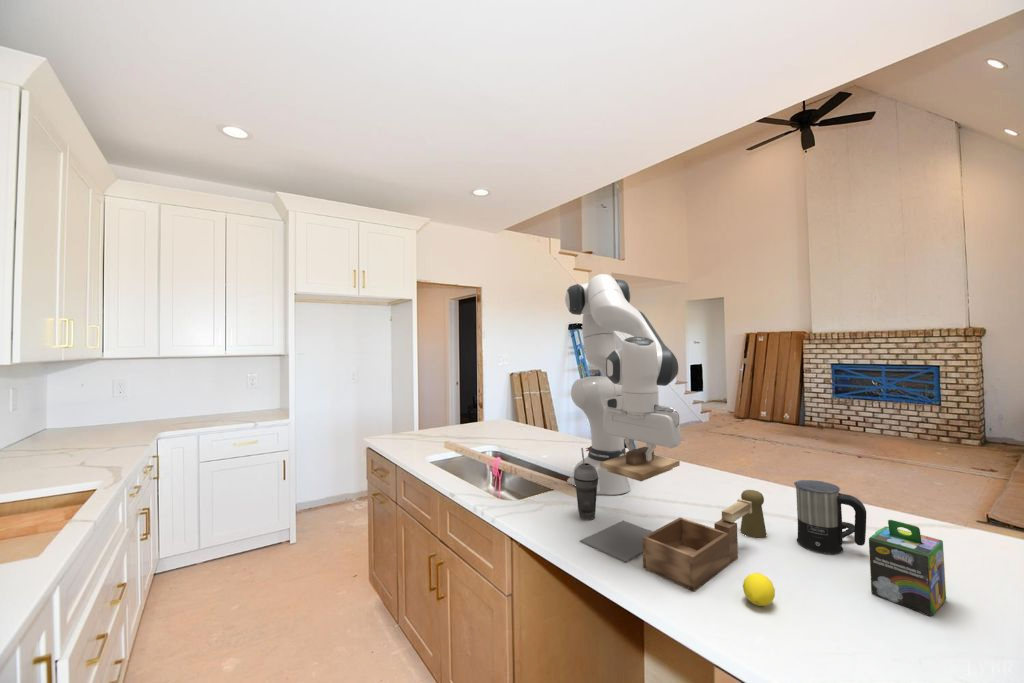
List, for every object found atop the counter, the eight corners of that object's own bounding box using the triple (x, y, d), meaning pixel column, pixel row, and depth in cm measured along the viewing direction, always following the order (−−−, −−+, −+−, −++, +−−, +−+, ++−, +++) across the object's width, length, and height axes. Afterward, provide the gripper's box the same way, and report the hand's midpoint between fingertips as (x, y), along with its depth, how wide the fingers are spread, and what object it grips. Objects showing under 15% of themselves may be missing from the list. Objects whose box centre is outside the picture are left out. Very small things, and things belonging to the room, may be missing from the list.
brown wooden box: (643, 568, 97) (642, 531, 97) (689, 540, 109) (688, 508, 109) (694, 591, 87) (693, 551, 87) (737, 558, 100) (737, 523, 100)
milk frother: (801, 551, 102) (799, 489, 102) (785, 524, 117) (784, 470, 117) (875, 561, 97) (873, 495, 97) (849, 531, 112) (847, 474, 112)
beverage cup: (589, 524, 120) (587, 453, 120) (569, 517, 126) (567, 448, 126) (604, 517, 125) (603, 448, 125) (585, 510, 130) (583, 444, 130)
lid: (600, 471, 106) (600, 451, 106) (638, 458, 116) (638, 440, 116) (642, 484, 97) (642, 462, 97) (679, 469, 107) (679, 449, 107)
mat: (580, 541, 110) (580, 540, 110) (623, 521, 121) (623, 520, 121) (625, 562, 99) (625, 561, 99) (668, 538, 111) (668, 537, 110)
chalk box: (947, 600, 82) (945, 523, 82) (932, 618, 77) (930, 536, 77) (885, 578, 90) (884, 508, 90) (868, 593, 85) (867, 519, 85)
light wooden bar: (720, 520, 101) (720, 509, 101) (739, 509, 108) (739, 498, 108) (733, 524, 99) (733, 513, 99) (752, 512, 105) (751, 502, 105)
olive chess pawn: (770, 539, 109) (769, 496, 109) (744, 537, 110) (743, 494, 110) (761, 528, 115) (760, 487, 115) (737, 527, 116) (736, 486, 116)
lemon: (772, 618, 79) (771, 591, 79) (740, 607, 83) (738, 581, 82) (778, 595, 85) (777, 570, 84) (747, 586, 88) (746, 561, 87)
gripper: (686, 406, 100) (686, 465, 101) (614, 396, 116) (614, 447, 116) (671, 410, 96) (672, 471, 97) (599, 399, 112) (599, 452, 112)
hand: (640, 458), depth 107 cm, fingers closed on lid, 3 cm apart
